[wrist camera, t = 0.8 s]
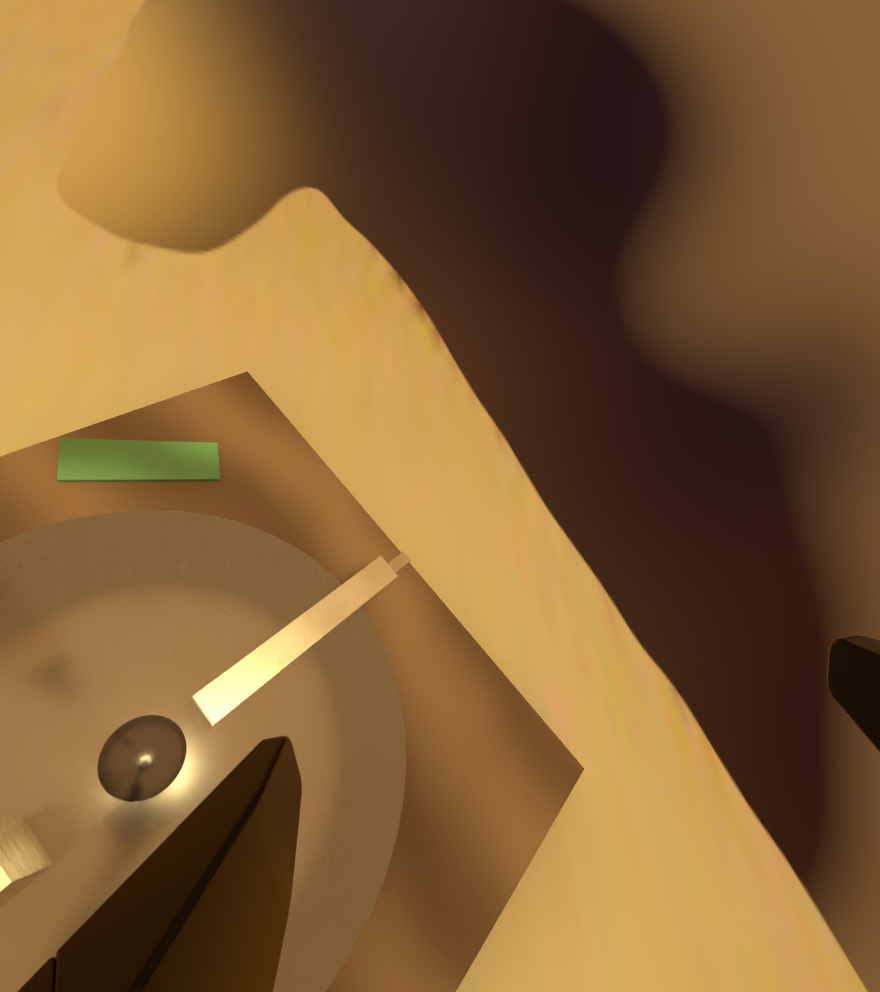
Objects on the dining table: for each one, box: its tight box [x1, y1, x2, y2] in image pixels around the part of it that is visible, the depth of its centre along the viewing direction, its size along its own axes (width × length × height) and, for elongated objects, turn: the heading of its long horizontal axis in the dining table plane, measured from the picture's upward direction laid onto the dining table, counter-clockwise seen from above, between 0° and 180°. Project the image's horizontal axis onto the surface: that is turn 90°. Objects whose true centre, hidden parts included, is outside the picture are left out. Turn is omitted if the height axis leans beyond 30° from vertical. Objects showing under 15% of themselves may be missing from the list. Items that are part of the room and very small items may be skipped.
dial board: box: [0, 372, 584, 992], centre depth 18 cm, size 26×26×2 cm
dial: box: [0, 510, 406, 992], centre depth 15 cm, size 22×18×6 cm
